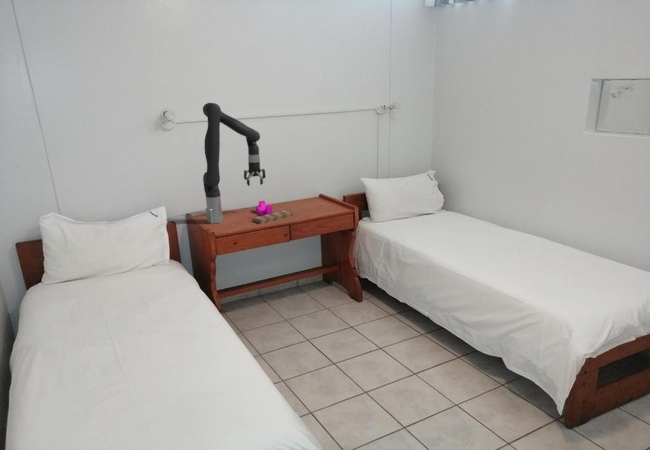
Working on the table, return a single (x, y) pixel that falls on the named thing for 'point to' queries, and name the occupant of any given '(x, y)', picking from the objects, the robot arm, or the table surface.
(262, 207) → the toy block
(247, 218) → the table surface
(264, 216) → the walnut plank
